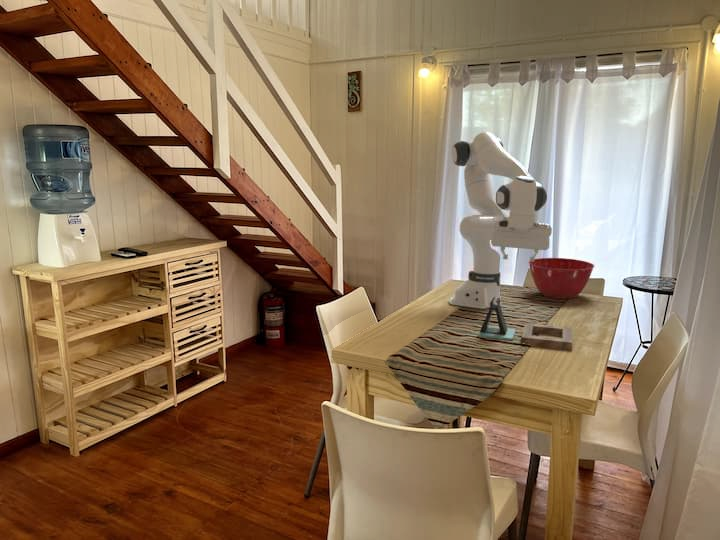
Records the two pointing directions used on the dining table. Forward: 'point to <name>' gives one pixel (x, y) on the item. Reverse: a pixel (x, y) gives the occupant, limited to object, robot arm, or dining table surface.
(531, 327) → the walnut holder
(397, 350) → the dining table surface
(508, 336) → the teal mat
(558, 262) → the mixing bowl
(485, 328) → the dark gray a-frame stand
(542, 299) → the dining table surface
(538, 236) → the robot arm
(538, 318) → the dining table surface
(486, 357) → the dining table surface
